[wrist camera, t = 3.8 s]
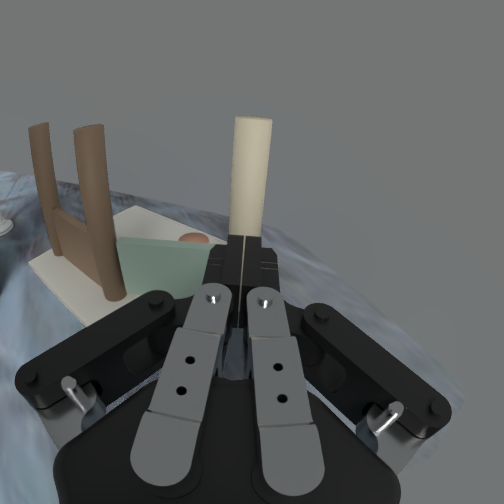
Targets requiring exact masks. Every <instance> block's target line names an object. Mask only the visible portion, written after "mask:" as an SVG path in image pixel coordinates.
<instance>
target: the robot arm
mask: <svg viewBox="0 0 504 504" xmlns="http://www.w3.org/2000/svg"><path fill="white" fill-rule="evenodd" d="M243 244H244V235H232V234H229V235H228V240H227V245H222V244H216V245H215V246H214V247H213V248H212V249H211V250H210V253H209V257H208V261H207V265H206V269H205V273H204V278H203V282H202V286H200V287H199V288H198V289H197V290H196V292H195V294H194V295H192V296H190V297H187V298H182V299H174V298H173V296H172V295H171V294H170V293H168V292H166V291H163V290H152V291H149V292H146V293H145V294H143V295H141V296H139V297H138V298H136V299H134V300H132V301H131V302H129V303H127V304H125V305H124V306H122V307H120V308H118V309H117V310H115V311H113V312H112V313H110V314H108V315H106V316H105V317H103V318H101V319H100V320H98V321H96V322H94V323H93V324H91V325H89V326H88V327H86V328H84V329H82V330H81V331H79V332H77V333H76V334H74V335H72V336H71V337H69V338H67V339H66V340H64V341H62V342H60V343H59V344H57V345H55V346H54V347H52V348H50V349H49V350H47V351H45V352H44V353H42V354H40V355H39V356H37V357H35V358H34V359H32V360H30V361H29V362H27V363H25V364H24V365H23V366H21V367H20V368H19V370H18V371H17V373H16V376H15V386H16V389H17V390H18V391H19V393H20V394H21V395H22V396H23V397H24V398H25V399H26V400H27V402H28V403H29V405H30V406H31V407H32V408H33V409H34V410H35V411H36V412H37V413H38V415H39V417H40V419H41V420H42V422H43V424H44V426H45V428H46V430H47V431H48V433H49V435H50V437H51V438H52V440H53V442H54V443H55V445H56V447H57V448H58V450H59V452H58V454H57V456H56V458H55V461H54V465H53V477H54V481H55V485H56V489H57V493H58V497H59V504H399V502H400V498H401V488H400V483H399V480H398V478H397V476H398V474H399V473H400V472H401V471H402V470H403V468H404V467H405V466H406V465H407V463H408V462H409V461H410V460H411V458H412V457H413V456H414V454H415V453H416V452H417V450H418V449H419V448H420V446H421V445H422V444H423V442H425V441H426V440H427V439H429V438H430V437H431V436H433V435H434V434H435V433H437V432H438V431H439V430H440V429H442V428H443V427H444V426H445V425H446V424H447V423H448V422H449V421H450V419H451V415H452V410H451V406H450V404H449V402H448V401H447V399H446V398H445V397H444V396H442V395H441V394H440V393H439V392H437V391H436V390H435V389H434V388H432V387H431V386H430V385H429V384H428V383H426V382H425V381H424V380H423V379H421V378H420V377H419V376H418V375H416V374H415V373H414V372H413V371H411V370H410V369H409V368H408V367H406V366H405V365H404V364H403V363H401V362H400V361H399V360H398V359H396V358H395V357H394V356H393V355H391V354H390V353H389V352H388V351H386V350H385V349H384V348H383V347H381V346H380V345H379V344H378V343H376V342H375V341H374V340H373V339H371V338H370V337H369V336H368V335H366V334H365V333H364V332H363V331H361V330H360V329H359V328H358V327H356V326H355V325H354V324H353V323H351V322H350V321H349V320H348V319H346V318H345V317H344V316H343V315H341V314H340V313H339V312H338V311H336V310H335V309H334V308H332V307H331V306H329V305H326V304H323V303H313V304H310V305H308V306H307V307H306V308H305V309H301V308H298V307H295V306H292V305H290V304H289V303H287V302H286V301H285V300H284V299H283V296H282V295H281V294H280V286H279V274H278V264H277V263H278V262H277V255H276V253H275V252H274V251H273V249H272V248H261V237H258V236H246V237H245V249H244V261H243V274H242V288H241V301H240V315H239V328H243V342H242V350H243V372H244V380H237V381H231V380H228V379H224V378H223V374H224V369H225V364H226V358H227V353H228V348H229V342H230V338H231V334H232V327H233V328H237V321H238V308H239V295H240V282H241V270H242V257H243ZM162 367H163V368H162ZM161 368H162V371H161V374H160V376H159V379H158V380H155V381H153V382H150V383H149V384H147V385H145V386H144V387H142V388H141V389H140V390H138V391H137V392H136V393H134V394H133V395H132V396H130V397H129V398H128V399H126V400H125V401H124V402H122V403H121V404H120V405H118V406H117V407H116V408H114V409H113V410H112V411H110V412H109V413H108V414H106V415H105V413H106V406H108V405H109V404H111V403H112V402H114V401H115V400H117V399H118V398H120V397H121V396H122V395H124V394H125V393H127V392H128V391H130V390H131V389H133V388H134V387H135V386H137V385H138V384H140V383H141V382H143V381H144V380H145V379H147V378H148V377H150V376H151V375H152V374H154V373H155V372H157V371H158V370H159V369H161ZM304 378H305V379H306V380H307V381H308V382H309V383H311V384H312V385H313V386H314V387H315V388H316V389H317V390H318V391H319V392H320V393H321V394H322V395H323V396H324V397H325V398H326V399H327V400H328V401H330V402H331V403H332V404H333V405H334V406H335V407H336V408H337V409H338V410H339V411H340V412H341V413H343V414H344V415H345V416H346V417H347V418H348V419H349V420H350V421H351V422H352V423H353V424H355V425H356V435H355V434H354V433H353V432H352V431H351V430H350V429H349V428H348V427H347V426H346V425H345V424H344V423H343V422H342V421H341V420H340V419H339V418H338V417H337V416H336V415H335V414H334V413H333V412H332V411H331V410H330V409H329V408H328V407H327V406H326V405H325V404H324V403H323V402H322V401H321V400H320V399H319V398H318V397H316V396H315V395H314V394H312V393H310V392H309V391H307V389H306V384H305V379H304Z"/></svg>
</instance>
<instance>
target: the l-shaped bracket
mask: <svg viewBox="0 0 504 504" xmlns="http://www.w3.org/2000/svg"><path fill="white" fill-rule="evenodd" d="M272 122H273V120H271V119H268V118H263V117H255V116H238V117H236V118H235V131H234V147H233V164H232V179H231V197H230V198H231V199H230V216H229V234H232V235H244V244H243V257H242V270H241V282H240V295H239V308H238V311H240V301H241V288H242V274H243V261H244V249H245V237H246V236H258V237H260V234H261V225H262V215H263V206H264V197H265V188H266V179H267V169H268V159H269V150H270V141H271V132H272ZM215 245H216V244H211V243H198V242H184V241H171V240H157V239H143V238H129V237H120V238H119V239H118V240H117V242H116V246H117V251H118V256H119V261H120V266H121V270H122V275H123V280H124V284H125V288H126V292H127V293H129V294H137V295H143V294H145V293H146V292H149V291H152V290H163V291H166V292H168V293H170V294H171V295H172V296H173V298H174V299H182V298H187V297H190V296H192V295H194V294H195V292H196V290H197V289H198V288H199V287H200V286H202V282H203V278H204V273H205V269H206V265H207V261H208V257H209V253H210V250H211V249H212V248H213V247H214V246H215ZM222 245H224V244H222Z"/></svg>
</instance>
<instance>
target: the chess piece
mask: <svg viewBox="0 0 504 504" xmlns="http://www.w3.org/2000/svg"><path fill="white" fill-rule="evenodd" d="M12 228H13V223H12V221H11V220H5V219H3V217H2V214H1V212H0V236H2V235H4V234H6V233H8V232H9V231H10V230H11V229H12Z"/></svg>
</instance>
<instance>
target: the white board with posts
mask: <svg viewBox="0 0 504 504" xmlns="http://www.w3.org/2000/svg"><path fill="white" fill-rule="evenodd" d="M28 129H29V139H30V147H31V155H32V161H33V168H34V174H35V179H36V185H37V190H38V195H39V199H40V204H41V208H42V213H43V217H44V221H45V225H46V229H47V232H48V236H49V239H50V243H51V246H52V249H50V250H48V251H47V252H45V253H43V254H41V255H40V256H38V257H36V258H35V259H33V260H31V261H30V262H28V263H29V266H30V267H31V268H32V270H33V271H34V272H35V273H36V274H37V276H38V277H39V278H40V279H41V280H42V281H43V283H44V284H45V285H46V286H47V287H48V288H49V289H50V290H51V292H52V293H53V294H54V295H55V296H56V297H57V298H58V299H59V300H60V301H61V302H62V303H63V304H64V305H65V307H66V308H67V309H68V310H69V311H70V312H71V313H72V314H73V315H74V316H75V317H76V318H77V319H78V320H79V321H80V322H81V323H82V324H83V325H84V326H85V327H88V326H89V325H91V324H93V323H94V322H96V321H98V320H100V319H101V318H103V317H105V316H106V315H108V314H110V313H112V312H113V311H115V310H117V309H118V308H120V307H122V306H124V305H125V304H127V303H129V302H131V301H132V300H134V299H136V298H138V297H139V296H141V295H137V294H129V293H127V292H126V288H125V284H124V280H123V275H122V270H121V266H120V261H119V256H118V251H117V246H116V242H117V240H118V239H119V238H120V237H129V238H143V239H157V240H171V241H184V242H198V243H211V244H224V245H227V242H226V241H224V240H221V239H219V238H216V237H214V236H211V235H209V234H206V233H204V232H201V231H199V230H196V229H194V228H191V227H189V226H186V225H184V224H181V223H179V222H176V221H174V220H172V219H169V218H167V217H164V216H162V215H159V214H157V213H154V212H152V211H149V210H147V209H144V208H142V207H139V206H137V205H135V206H133V207H131V208H128V209H126V210H124V211H122V212H120V213H118V214H116V215H114V216H113V213H112V206H111V199H110V191H109V183H108V173H107V163H106V154H105V153H106V152H105V137H104V125H102V124H97V125H90V126H85V127H81V128H78V129H75V130H74V131H73V134H74V145H75V154H76V163H77V171H78V179H79V185H80V192H81V198H82V204H83V209H84V215H85V220H86V224H84V223H83V222H81V221H79V220H78V219H76V218H74V217H73V216H71V215H69V214H68V213H66V212H65V211H63V210H61V206H60V201H59V196H58V191H57V185H56V179H55V173H54V167H53V159H52V152H51V143H50V133H49V123H48V122H46V123H41V124H38V125H34V126H31V127H29V128H28Z"/></svg>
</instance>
